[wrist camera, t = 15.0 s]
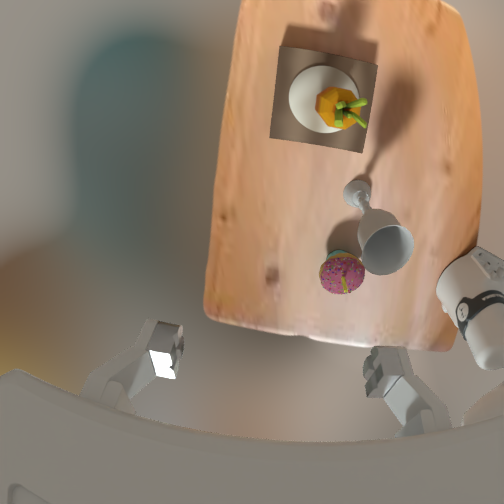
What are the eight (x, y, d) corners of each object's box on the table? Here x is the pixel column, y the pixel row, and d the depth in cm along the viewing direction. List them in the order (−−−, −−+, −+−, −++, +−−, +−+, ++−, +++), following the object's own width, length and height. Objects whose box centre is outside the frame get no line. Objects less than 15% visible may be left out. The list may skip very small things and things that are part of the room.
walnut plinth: (370, 66, 36) (378, 65, 32) (356, 147, 43) (363, 154, 40) (279, 48, 36) (279, 45, 32) (270, 133, 44) (269, 138, 40)
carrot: (338, 81, 34) (369, 84, 22) (346, 114, 37) (379, 134, 24) (303, 88, 35) (317, 93, 23) (313, 121, 38) (330, 143, 25)
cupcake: (311, 249, 55) (316, 291, 45) (354, 235, 52) (368, 275, 42) (324, 282, 59) (331, 326, 49) (364, 269, 56) (377, 312, 46)
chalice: (350, 167, 45) (382, 215, 30) (383, 184, 46) (424, 237, 31) (330, 203, 49) (350, 264, 34) (363, 218, 50) (392, 281, 35)
